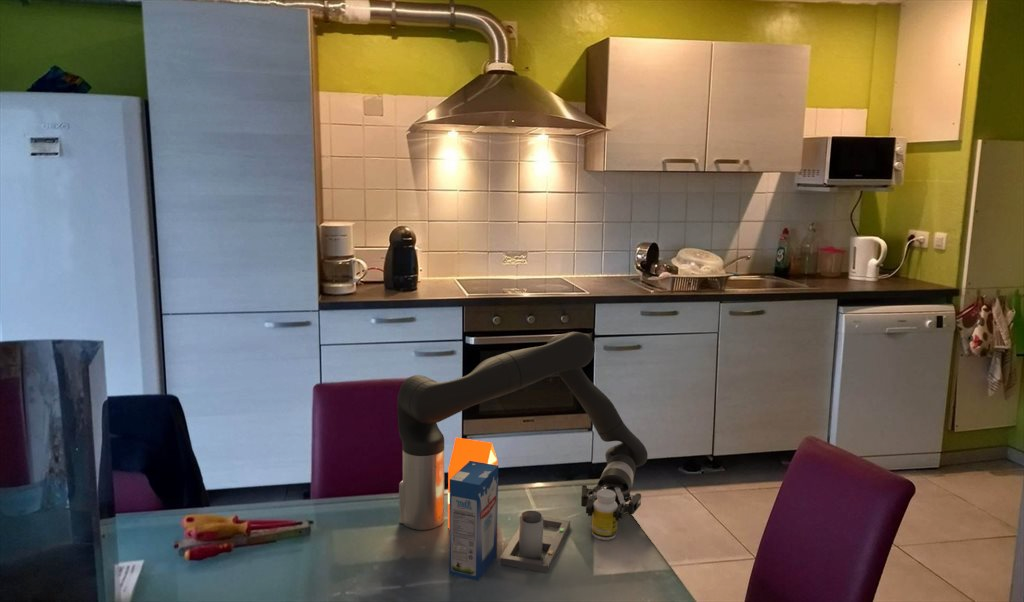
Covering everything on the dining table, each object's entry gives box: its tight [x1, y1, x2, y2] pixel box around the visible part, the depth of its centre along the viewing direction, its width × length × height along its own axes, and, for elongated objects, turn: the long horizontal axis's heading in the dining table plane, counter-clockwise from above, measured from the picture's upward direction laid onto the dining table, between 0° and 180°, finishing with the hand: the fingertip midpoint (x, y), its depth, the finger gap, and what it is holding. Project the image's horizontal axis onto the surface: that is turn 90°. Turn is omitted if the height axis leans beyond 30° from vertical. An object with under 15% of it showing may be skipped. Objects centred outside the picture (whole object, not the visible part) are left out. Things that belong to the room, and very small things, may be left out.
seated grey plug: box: [518, 510, 544, 561], centre depth 154 cm, size 5×5×9 cm
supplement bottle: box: [591, 489, 618, 541], centre depth 163 cm, size 5×5×10 cm
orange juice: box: [447, 437, 498, 529], centre depth 166 cm, size 8×9×20 cm
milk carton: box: [448, 461, 499, 582], centre depth 149 cm, size 10×6×20 cm, turn 160°
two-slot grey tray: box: [499, 515, 571, 574], centre depth 159 cm, size 10×20×2 cm, turn 163°
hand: (603, 514), depth 161 cm, fingers closed on supplement bottle, 5 cm apart
